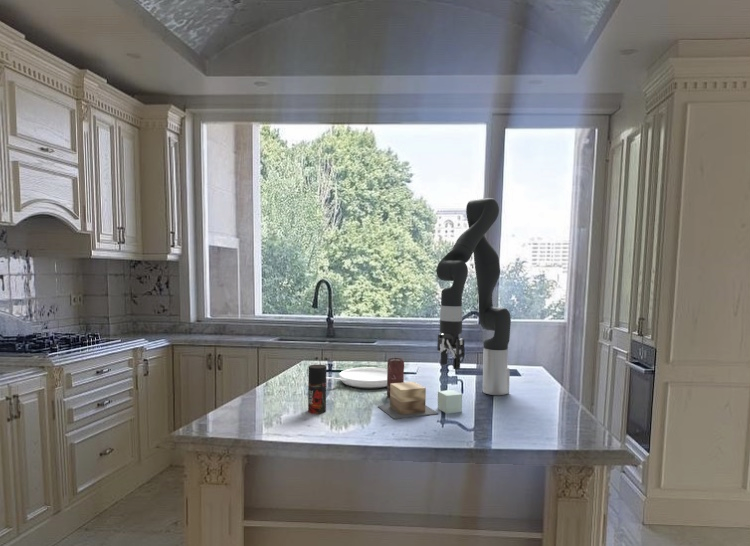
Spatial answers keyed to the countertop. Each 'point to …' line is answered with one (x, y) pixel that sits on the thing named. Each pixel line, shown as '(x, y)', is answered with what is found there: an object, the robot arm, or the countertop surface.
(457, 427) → the countertop surface
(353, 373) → the pan
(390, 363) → the can
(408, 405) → the block bottom
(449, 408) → the cube
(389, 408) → the mat
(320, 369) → the deodorant
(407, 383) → the block top
